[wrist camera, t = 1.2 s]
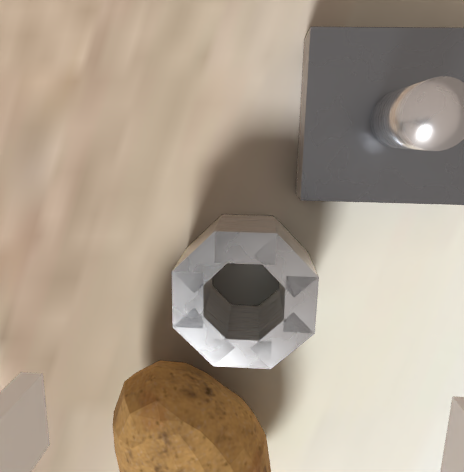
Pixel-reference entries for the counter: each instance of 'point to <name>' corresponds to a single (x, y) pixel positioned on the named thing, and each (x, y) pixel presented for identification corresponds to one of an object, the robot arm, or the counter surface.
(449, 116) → the pillow block
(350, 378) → the counter surface
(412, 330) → the counter surface
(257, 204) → the counter surface
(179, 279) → the hub
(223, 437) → the potato
